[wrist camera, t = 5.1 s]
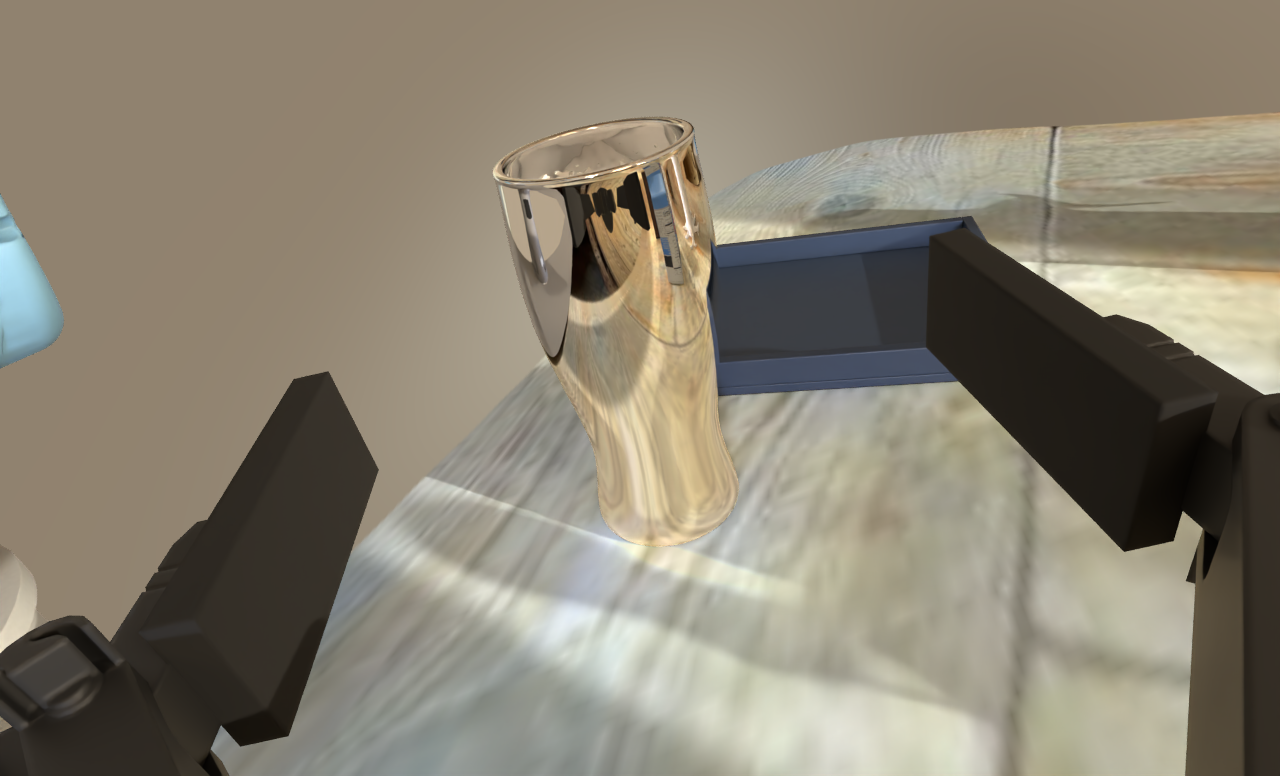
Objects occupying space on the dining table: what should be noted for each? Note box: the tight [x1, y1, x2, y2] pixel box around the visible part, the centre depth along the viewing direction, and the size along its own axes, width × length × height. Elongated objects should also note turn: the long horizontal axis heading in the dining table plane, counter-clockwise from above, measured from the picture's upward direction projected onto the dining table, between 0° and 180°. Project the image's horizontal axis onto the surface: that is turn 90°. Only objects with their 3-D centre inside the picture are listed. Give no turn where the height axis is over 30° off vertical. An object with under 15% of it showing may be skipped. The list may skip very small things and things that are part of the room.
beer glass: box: [492, 117, 739, 546], centre depth 26 cm, size 7×7×15 cm
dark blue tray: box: [717, 216, 988, 396], centre depth 40 cm, size 17×15×2 cm
